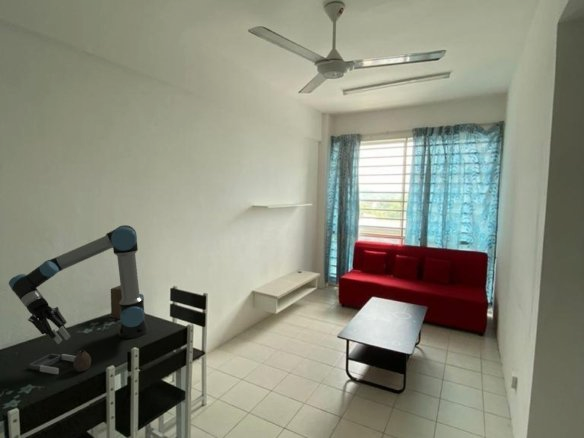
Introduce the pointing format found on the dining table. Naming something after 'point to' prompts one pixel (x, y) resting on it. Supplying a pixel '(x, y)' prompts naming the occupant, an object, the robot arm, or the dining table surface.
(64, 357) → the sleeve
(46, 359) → the grey flat frame
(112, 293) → the block
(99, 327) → the dining table surface
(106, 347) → the dining table surface
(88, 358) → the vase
